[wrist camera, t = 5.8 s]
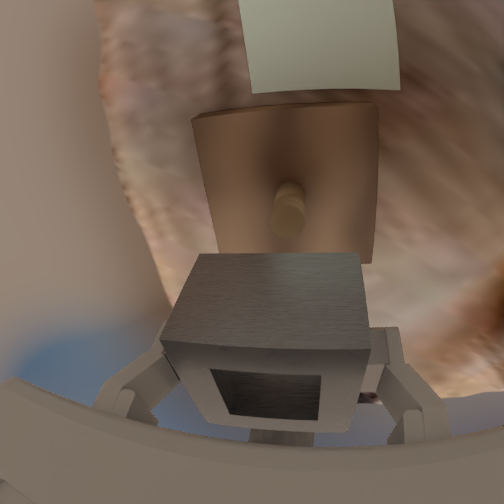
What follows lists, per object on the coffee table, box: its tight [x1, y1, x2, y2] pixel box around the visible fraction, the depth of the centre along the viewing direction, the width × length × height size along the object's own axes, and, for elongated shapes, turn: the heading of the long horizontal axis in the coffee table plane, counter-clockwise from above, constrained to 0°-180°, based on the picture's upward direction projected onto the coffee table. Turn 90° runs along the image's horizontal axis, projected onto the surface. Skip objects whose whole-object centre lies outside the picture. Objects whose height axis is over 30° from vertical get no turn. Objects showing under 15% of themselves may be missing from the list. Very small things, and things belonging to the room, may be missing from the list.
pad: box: [238, 0, 400, 94], centre depth 16 cm, size 10×10×1 cm
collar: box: [159, 252, 371, 432], centre depth 11 cm, size 6×6×4 cm
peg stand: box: [191, 102, 378, 264], centre depth 21 cm, size 12×12×6 cm
